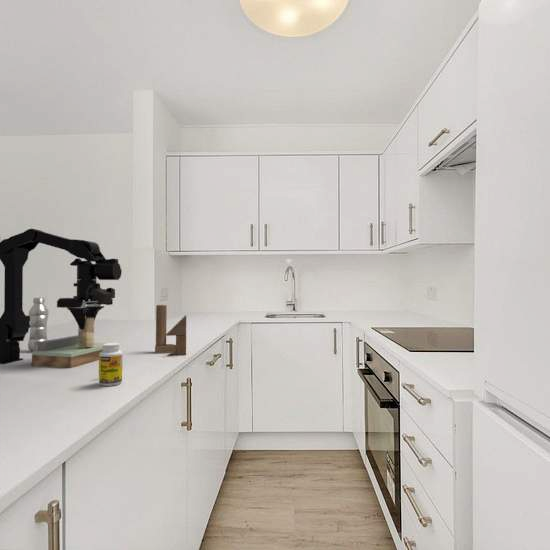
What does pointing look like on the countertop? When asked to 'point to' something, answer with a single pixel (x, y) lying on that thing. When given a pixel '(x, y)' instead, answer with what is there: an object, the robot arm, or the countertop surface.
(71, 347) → the lid
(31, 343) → the plastic bottle
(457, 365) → the countertop surface
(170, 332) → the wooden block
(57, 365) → the brown wooden slab
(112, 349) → the supplement bottle
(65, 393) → the countertop surface
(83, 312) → the robot arm
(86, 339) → the pin
